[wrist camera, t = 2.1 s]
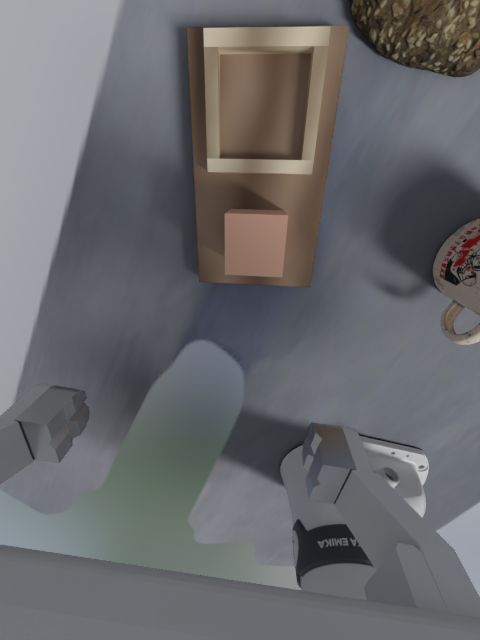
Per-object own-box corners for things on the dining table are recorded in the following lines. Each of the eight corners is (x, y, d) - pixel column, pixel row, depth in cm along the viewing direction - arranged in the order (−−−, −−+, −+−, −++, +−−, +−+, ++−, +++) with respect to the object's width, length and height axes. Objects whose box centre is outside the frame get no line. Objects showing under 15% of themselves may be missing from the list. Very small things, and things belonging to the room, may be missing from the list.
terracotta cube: (283, 210, 25) (288, 215, 20) (279, 262, 27) (282, 277, 23) (231, 208, 25) (224, 213, 21) (231, 260, 27) (224, 274, 23)
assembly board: (343, 36, 20) (354, 15, 18) (307, 282, 29) (311, 291, 27) (191, 37, 21) (182, 18, 19) (202, 277, 30) (196, 285, 28)
